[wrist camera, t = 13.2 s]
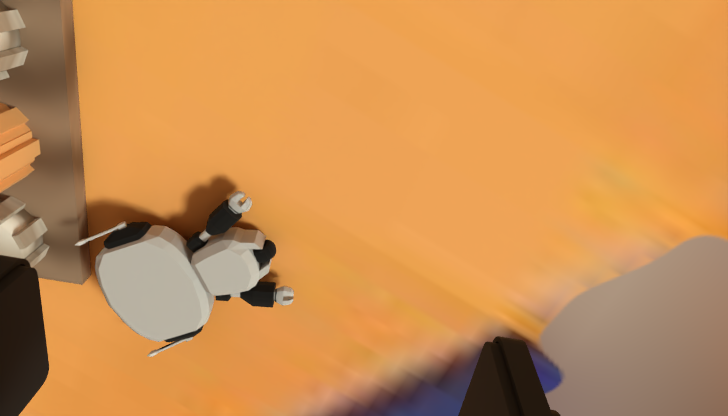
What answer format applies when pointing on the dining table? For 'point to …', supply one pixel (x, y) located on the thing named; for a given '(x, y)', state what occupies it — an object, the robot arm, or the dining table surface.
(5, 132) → the orange gear
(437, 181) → the dining table surface
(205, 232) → the robot toy
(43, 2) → the gear board
